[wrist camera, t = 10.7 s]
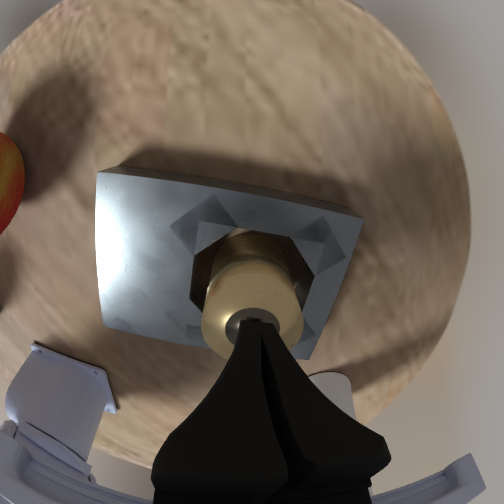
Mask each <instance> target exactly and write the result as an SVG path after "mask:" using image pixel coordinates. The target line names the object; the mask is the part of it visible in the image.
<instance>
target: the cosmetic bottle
mask: <svg viewBox="0 0 504 504" xmlns="http://www.w3.org/2000/svg"><path fill="white" fill-rule="evenodd" d="M308 378H309V379H310V380H311V381H312V382H313V383H314V384H315V386H316V387H317V388H318V389H319V390H320V391H321V392H322V393H323V394H324V395H325V396H326V397H327V398H328V399H329V400H331V401H332V402H333V403H334V404H335V405H336V406H337V407H339V408H340V409H341V410H342V411H344V412H345V413H346V414H347V415H349V416H350V417H352V418H353V419H354V420H356V415H355V410H354V404H353V398H352V391H351V383H350V380H349V379H348V378H347V377H346V376H345V375H343V374H340V373H336V372H324V373H319V374H315V375H312V376H309V377H308ZM368 490H369V493H370V496H373V493H372V488H371V487H369V488H368Z"/></svg>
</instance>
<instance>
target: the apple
mask: <svg viewBox="0 0 504 504" xmlns="http://www.w3.org/2000/svg"><path fill="white" fill-rule="evenodd" d="M24 185H25V169H24V162H23V158H22V155H21V153H20V151H19V149H18V147H17V146H16V144H15V143H14V142H13V141H12V140H11V139H10V138H9V137H8V136H6V135H5V134H3V133H1V132H0V234H1V233H2V232H3V231H4V230H5V229H6V227H7V226H8V225H9V223H10V222H11V220H12V218H13V217H14V215H15V214H16V211H17V209H18V207H19V205H20V202H21V199H22V196H23V192H24Z"/></svg>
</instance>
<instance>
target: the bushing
mask: <svg viewBox="0 0 504 504" xmlns="http://www.w3.org/2000/svg"><path fill="white" fill-rule="evenodd" d="M243 319H244V320H251V321H258V322H266V323H273V325H274V326H275V328H276V330H277V331H278V333H279V335H280V337H281V338H282V340H283V342H284V343H285V345H286V347H287V348H288V350H289V351H290V350H291V349H292V348H293V347H294V346H295V345H296V344H297V342H298V341H299V339H300V337H301V335H302V332H303V326H304V321H303V315H302V312H301V309H300V306H299V302H298V299H297V296H296V293H295V290H294V286H293V283H292V280H291V277H290V274H289V270H288V267H287V264H286V261H285V258H284V255H283V253H282V251H281V249H280V248H279V246H278V245H277V244H276V243H275V242H273V241H272V240H271V239H269V238H267V237H265V236H263V235H259V234H253V233H247V234H241V235H237V236H234V237H232V238H230V239H229V240H227V241H226V242H225V243H223V244H222V245H221V247H220V248H219V249H218V251H217V253H216V255H215V258H214V262H213V267H212V271H211V276H210V281H209V285H208V290H207V295H206V300H205V305H204V310H203V315H202V320H201V331H202V335H203V338H204V340H205V342H206V343H207V345H208V346H209V347H210V348H211V349H212V350H213V351H214V352H215V353H216V354H218V355H219V356H221V357H223V358H225V359H227V360H229V358H230V356H231V354H232V352H233V349H234V345H235V341H236V337H237V332H238V328H239V324H240V321H241V320H243Z"/></svg>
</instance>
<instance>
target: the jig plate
mask: <svg viewBox="0 0 504 504" xmlns="http://www.w3.org/2000/svg"><path fill="white" fill-rule="evenodd" d="M363 222H364V219H363V218H362V217H360V216H359V215H358V214H356V213H355V212H354V211H352V210H351V209H350V208H348V207H346V206H342V205H338V204H334V203H330V202H326V201H322V200H317V199H313V198H309V197H304V196H300V195H296V194H291V193H286V192H282V191H277V190H272V189H267V188H262V187H257V186H252V185H247V184H241V183H236V182H230V181H225V180H219V179H213V178H207V177H200V176H194V175H187V174H180V173H173V172H166V171H158V170H150V169H142V168H133V167H124V166H115V167H112V168H108V169H105V170H102V171H99V172H97V185H96V257H97V273H98V284H99V294H100V303H101V311H102V318H103V325H104V326H106V327H109V328H113V329H117V330H121V331H125V332H128V333H133V334H137V335H141V336H145V337H150V338H154V339H159V340H164V341H168V342H173V343H179V344H184V345H189V346H195V347H201V348H207V349H211V348H210V347H209V346H208V345H207V343H206V342H205V340H204V338H203V335H202V331H201V320H202V315H203V310H204V305H205V300H206V295H207V290H206V289H205V287H204V286H203V285H202V284H201V283H200V282H199V280H198V279H197V278H196V271H197V263H198V255H199V252H200V251H202V250H203V249H205V248H206V247H208V246H209V245H211V244H212V243H214V242H215V241H217V240H218V239H220V238H222V237H223V236H225V235H226V234H228V233H229V232H231V231H232V230H234V229H235V228H237V227H238V228H243V229H249V230H254V231H260V232H265V233H271V234H276V235H281V236H287V237H290V238H291V239H292V241H293V242H294V244H295V245H296V247H297V248H298V250H299V252H300V253H301V255H302V256H303V258H304V263H303V266H302V269H301V273H300V276H299V279H298V282H297V285H296V288H295V293H296V296H297V299H298V302H299V306H300V309H301V312H302V315H303V321H304V326H303V332H302V335H301V337H300V339H299V341H298V342H297V344H296V345H295V346H294V347H293V348H292V349H291V350H290V353H291V354H292V356H293V357H294V359H303V360H309V359H310V356H311V354H312V352H313V350H314V348H315V346H316V344H317V341H318V339H319V337H320V335H321V332H322V330H323V328H324V326H325V323H326V321H327V319H328V316H329V314H330V312H331V309H332V307H333V304H334V302H335V299H336V297H337V294H338V292H339V289H340V287H341V284H342V282H343V279H344V276H345V274H346V271H347V268H348V266H349V263H350V260H351V257H352V254H353V252H354V249H355V246H356V243H357V240H358V237H359V234H360V231H361V228H362V225H363Z"/></svg>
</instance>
